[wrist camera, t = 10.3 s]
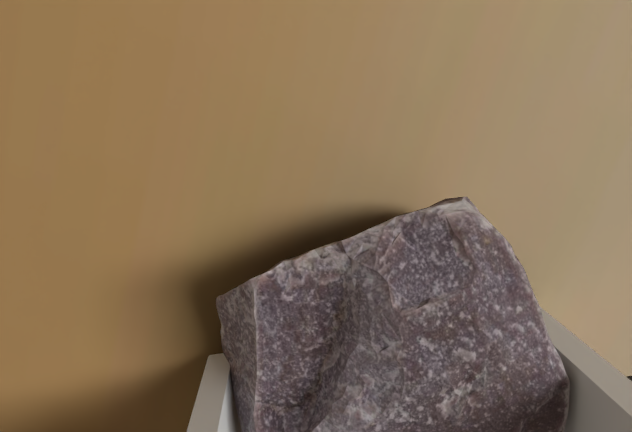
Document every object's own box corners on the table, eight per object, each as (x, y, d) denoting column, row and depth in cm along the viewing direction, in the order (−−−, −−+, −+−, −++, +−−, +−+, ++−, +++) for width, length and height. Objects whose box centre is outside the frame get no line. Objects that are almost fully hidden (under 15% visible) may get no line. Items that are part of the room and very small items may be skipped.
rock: (333, 545, 17) (352, 698, 13) (189, 267, 15) (149, 340, 10) (547, 458, 17) (640, 583, 13) (441, 159, 14) (514, 186, 10)
